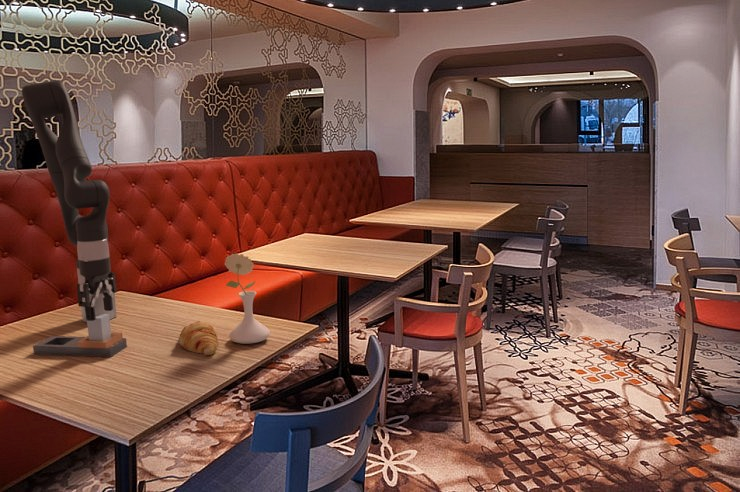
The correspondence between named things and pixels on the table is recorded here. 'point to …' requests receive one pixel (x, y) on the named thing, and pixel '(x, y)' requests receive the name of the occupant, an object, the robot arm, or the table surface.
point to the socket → (80, 346)
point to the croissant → (199, 338)
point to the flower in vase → (245, 304)
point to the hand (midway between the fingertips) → (100, 315)
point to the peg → (99, 328)
